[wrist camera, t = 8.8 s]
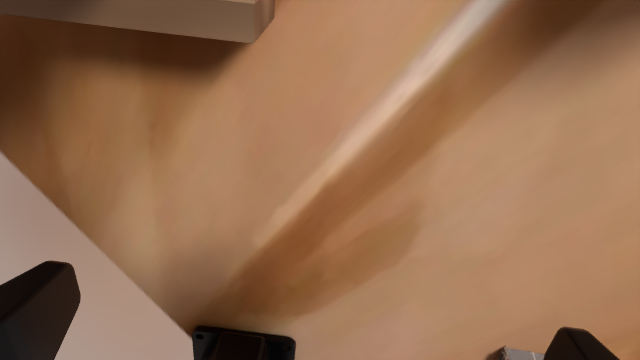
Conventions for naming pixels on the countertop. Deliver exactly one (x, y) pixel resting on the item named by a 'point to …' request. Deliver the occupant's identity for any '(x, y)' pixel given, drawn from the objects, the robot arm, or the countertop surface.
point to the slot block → (158, 15)
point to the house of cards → (519, 355)
